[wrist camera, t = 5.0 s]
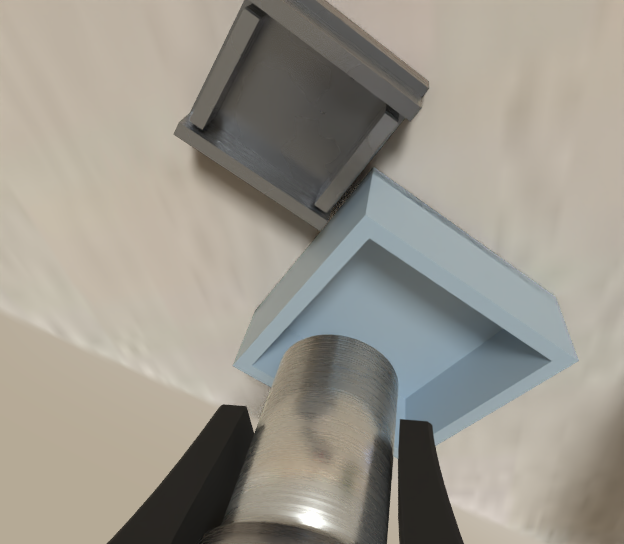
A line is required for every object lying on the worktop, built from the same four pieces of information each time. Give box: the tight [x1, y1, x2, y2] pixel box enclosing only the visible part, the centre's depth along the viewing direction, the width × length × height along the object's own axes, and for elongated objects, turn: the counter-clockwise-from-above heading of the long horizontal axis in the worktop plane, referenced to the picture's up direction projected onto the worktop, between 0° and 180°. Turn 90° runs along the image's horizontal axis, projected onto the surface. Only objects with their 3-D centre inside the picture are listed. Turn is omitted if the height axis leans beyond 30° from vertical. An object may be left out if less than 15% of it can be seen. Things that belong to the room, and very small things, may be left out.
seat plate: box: [174, 0, 429, 231], centre depth 16 cm, size 6×6×2 cm
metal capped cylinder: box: [197, 334, 399, 544], centre depth 10 cm, size 4×4×6 cm
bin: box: [233, 167, 579, 459], centre depth 20 cm, size 9×9×4 cm
